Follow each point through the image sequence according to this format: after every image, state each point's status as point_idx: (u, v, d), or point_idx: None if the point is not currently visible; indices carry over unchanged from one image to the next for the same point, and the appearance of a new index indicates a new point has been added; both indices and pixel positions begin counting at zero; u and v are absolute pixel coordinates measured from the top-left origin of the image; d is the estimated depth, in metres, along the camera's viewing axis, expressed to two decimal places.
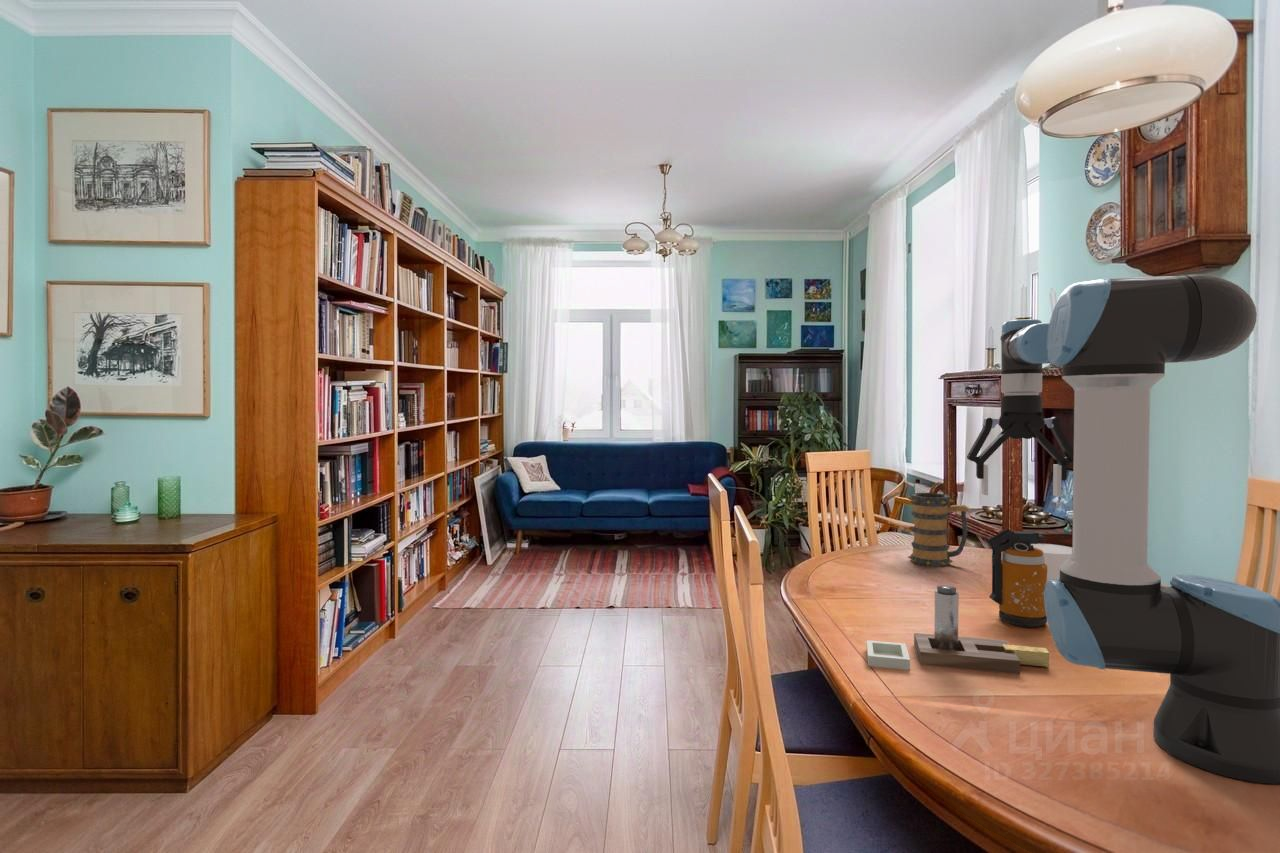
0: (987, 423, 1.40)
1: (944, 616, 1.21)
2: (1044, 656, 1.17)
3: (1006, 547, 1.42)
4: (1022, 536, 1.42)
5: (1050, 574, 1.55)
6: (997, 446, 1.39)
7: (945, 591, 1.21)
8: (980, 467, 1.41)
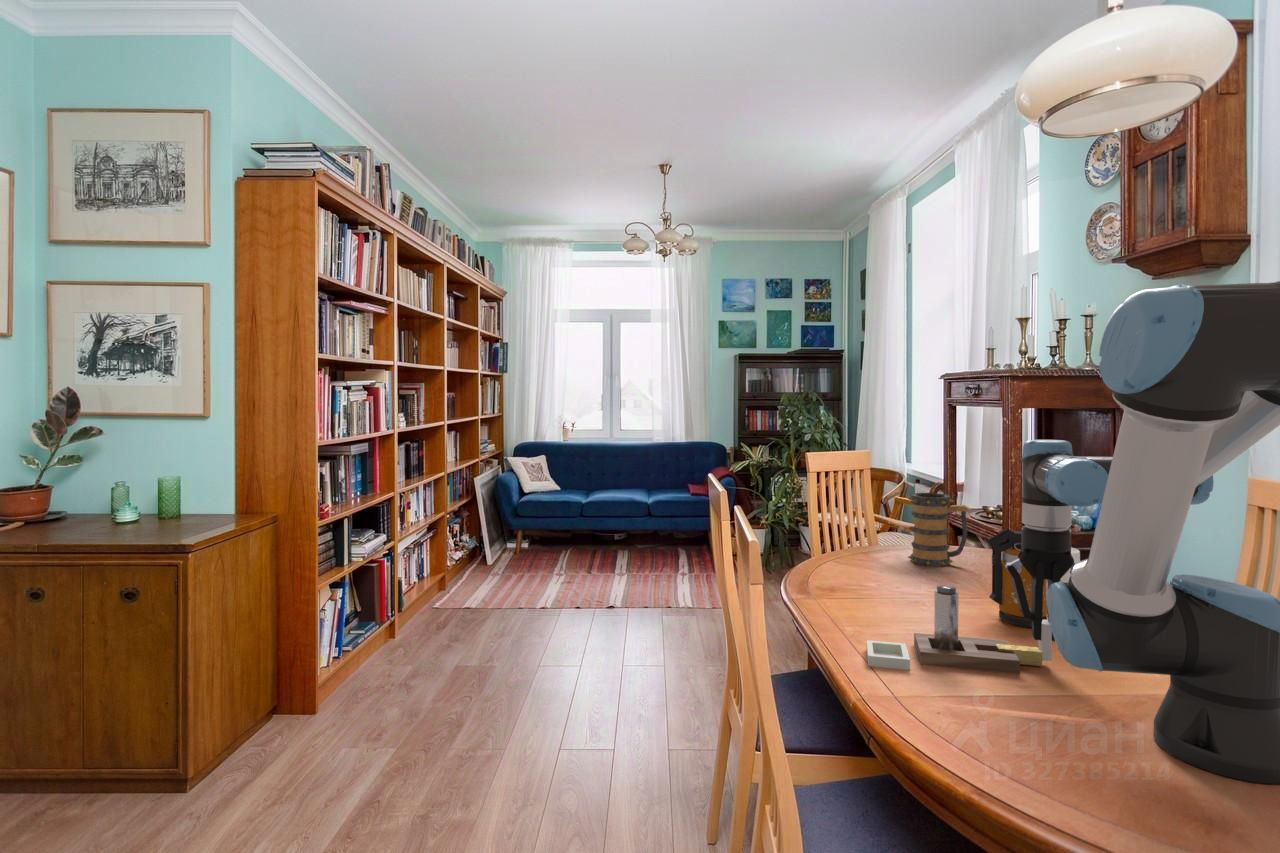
0: (1011, 572, 1.18)
1: (944, 616, 1.21)
2: (1037, 656, 1.17)
3: (1006, 547, 1.42)
4: None
5: None
6: (1040, 595, 1.17)
7: (945, 591, 1.21)
8: (1037, 626, 1.18)
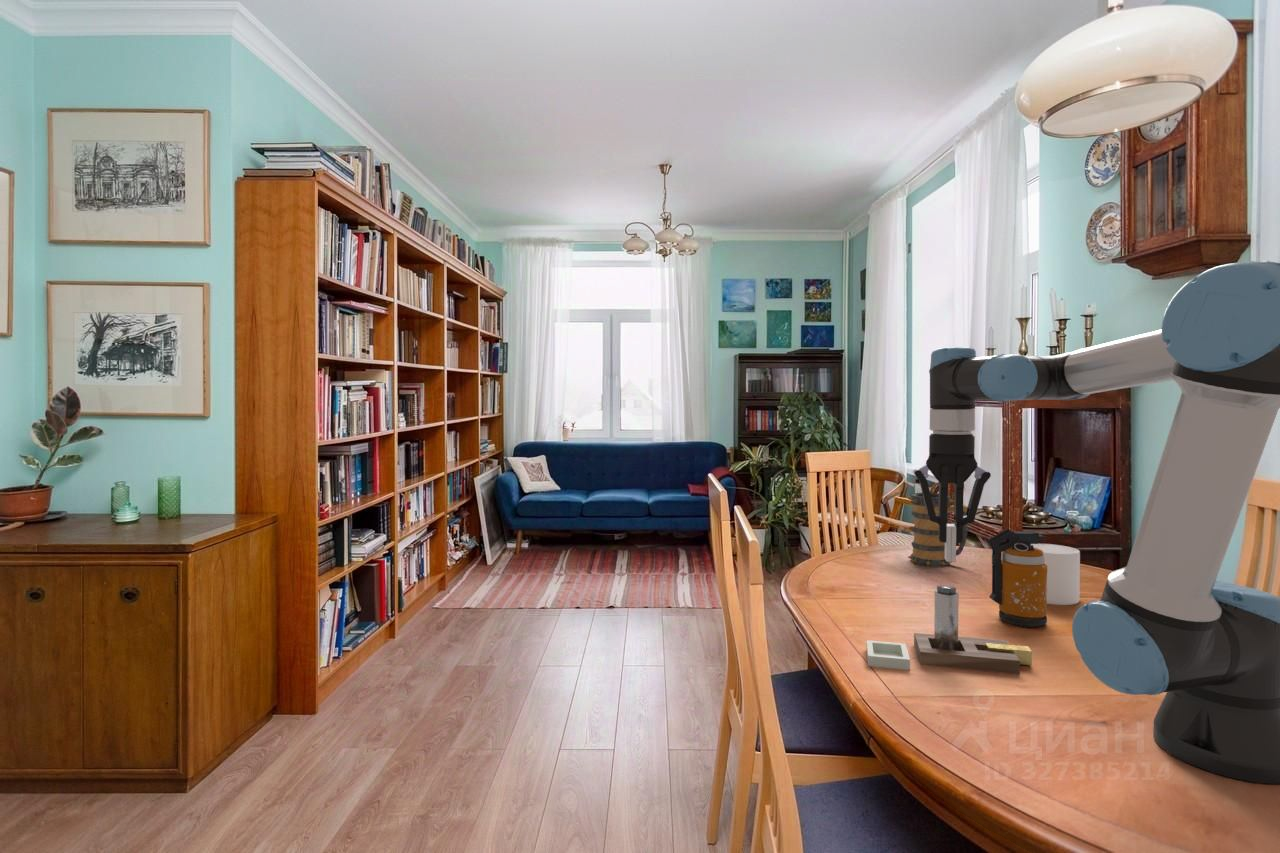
0: (918, 477, 1.22)
1: (944, 616, 1.21)
2: (1027, 655, 1.18)
3: (1006, 547, 1.42)
4: (1022, 536, 1.42)
5: (1050, 574, 1.55)
6: (945, 498, 1.21)
7: (945, 591, 1.21)
8: (942, 529, 1.22)
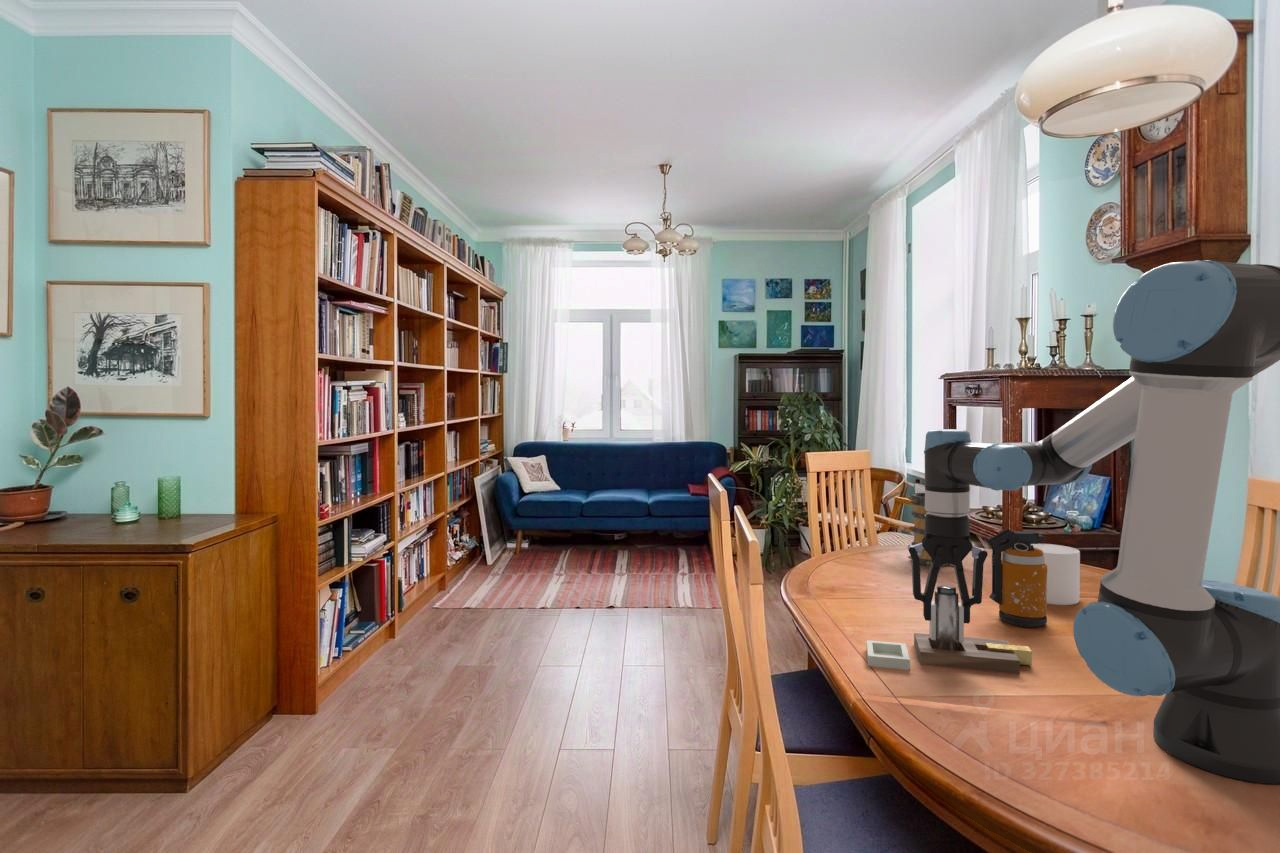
0: (912, 554, 1.23)
1: (944, 616, 1.21)
2: (1027, 655, 1.18)
3: (1006, 547, 1.42)
4: (1022, 536, 1.42)
5: (1050, 574, 1.55)
6: (935, 578, 1.22)
7: (945, 591, 1.21)
8: (927, 607, 1.23)
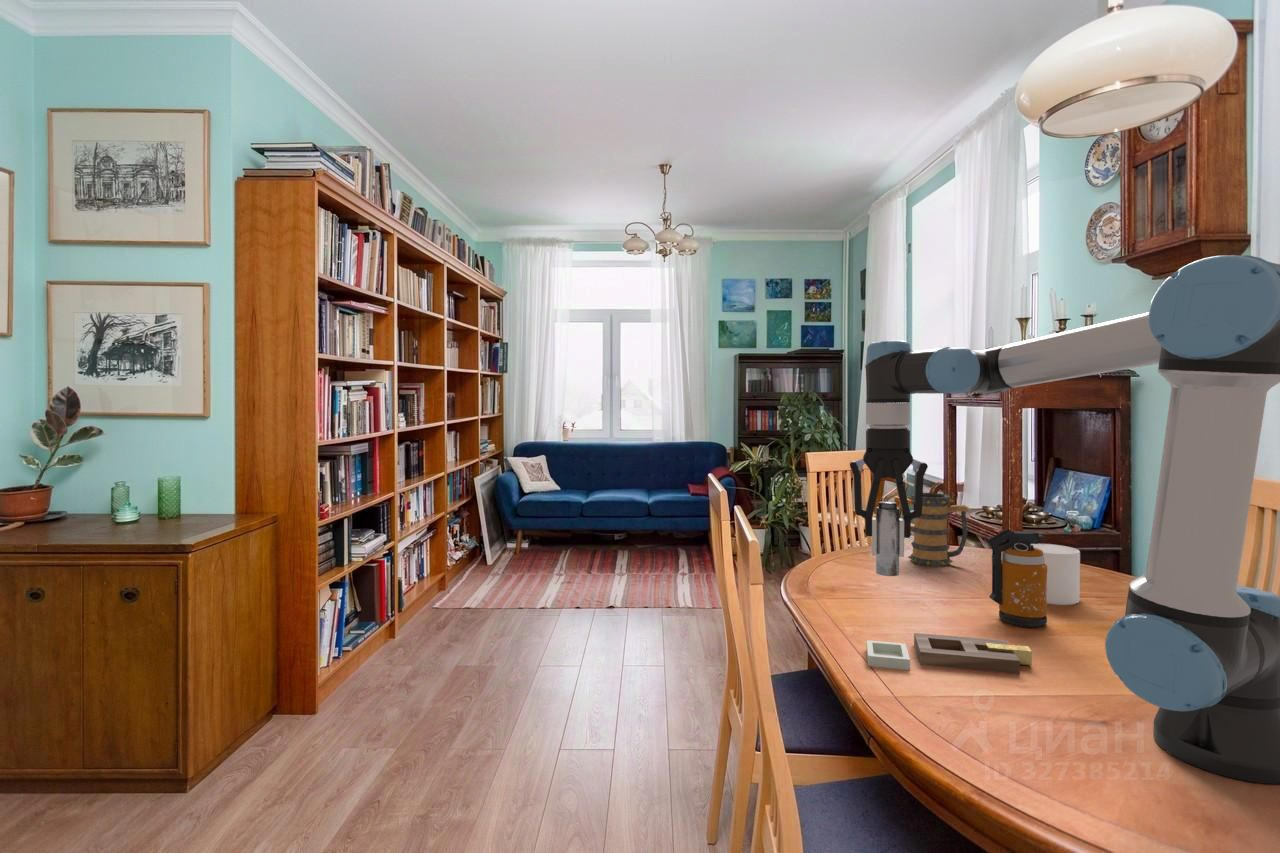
0: (853, 469, 1.21)
1: (884, 531, 1.19)
2: (1027, 655, 1.18)
3: (1006, 547, 1.42)
4: (1022, 536, 1.42)
5: (1050, 574, 1.55)
6: (875, 493, 1.20)
7: (885, 506, 1.20)
8: (868, 522, 1.21)
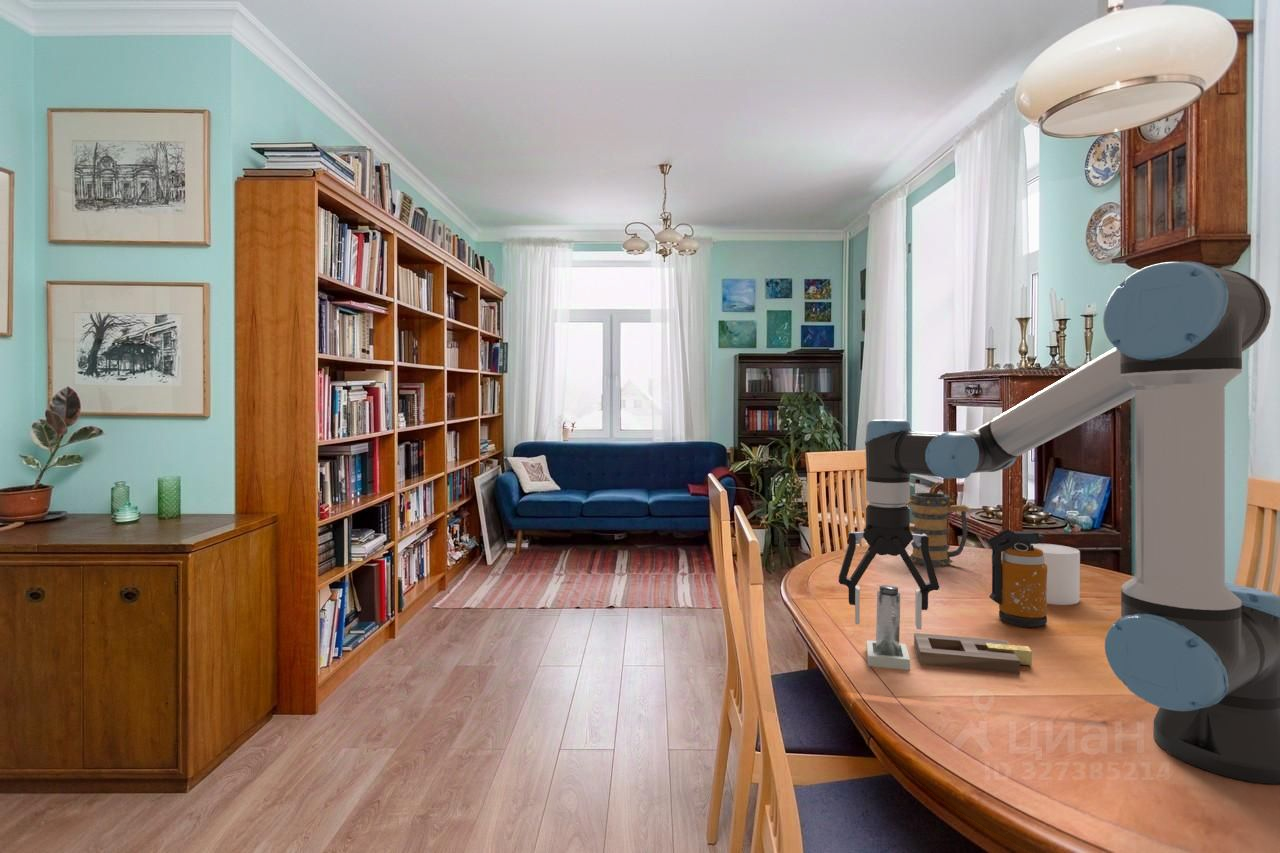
0: (850, 539, 1.22)
1: (885, 617, 1.20)
2: (1027, 655, 1.18)
3: (1006, 547, 1.42)
4: (1022, 536, 1.42)
5: (1050, 574, 1.55)
6: (866, 566, 1.21)
7: (887, 591, 1.20)
8: (851, 591, 1.23)
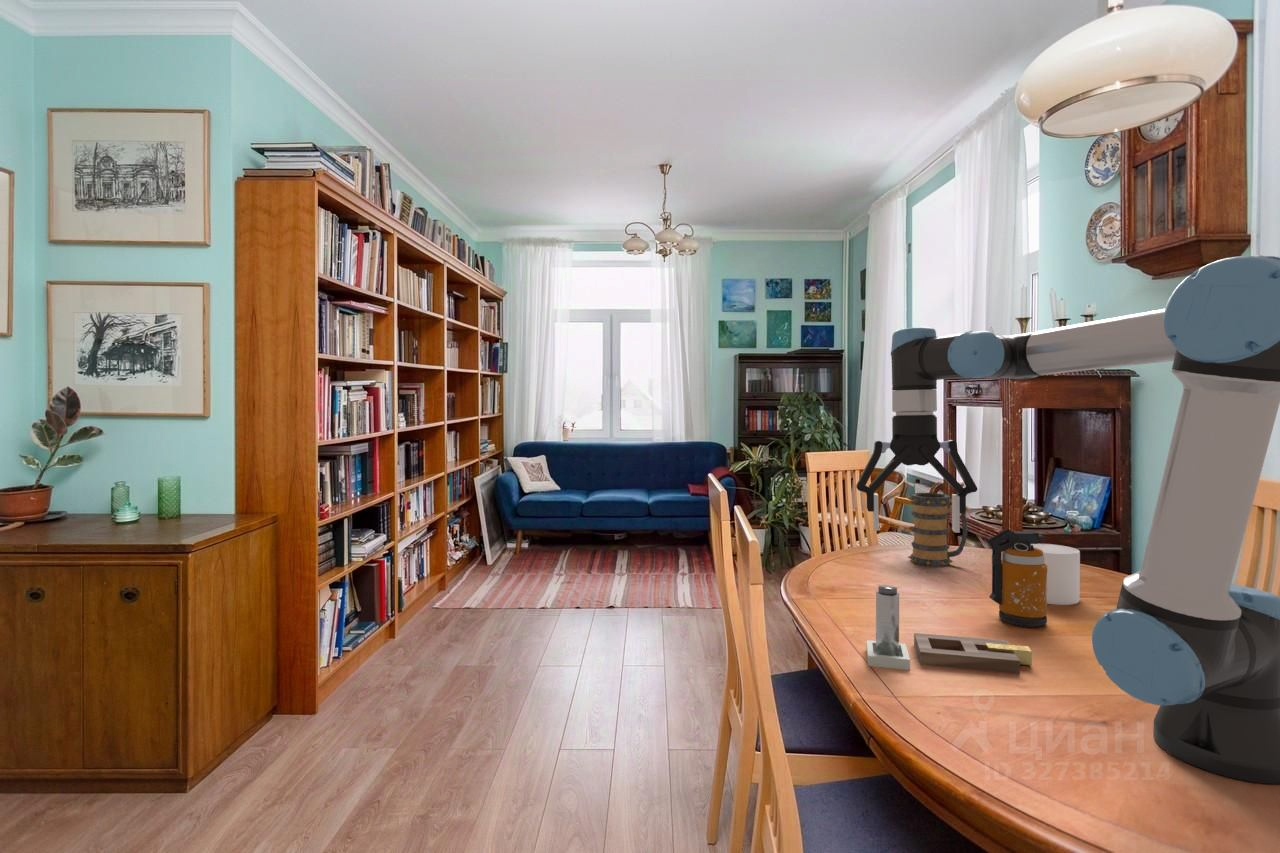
0: (876, 447, 1.21)
1: (884, 617, 1.20)
2: (1027, 655, 1.18)
3: (1006, 547, 1.42)
4: (1022, 536, 1.42)
5: (1050, 574, 1.55)
6: (888, 474, 1.21)
7: (885, 591, 1.20)
8: (870, 498, 1.22)
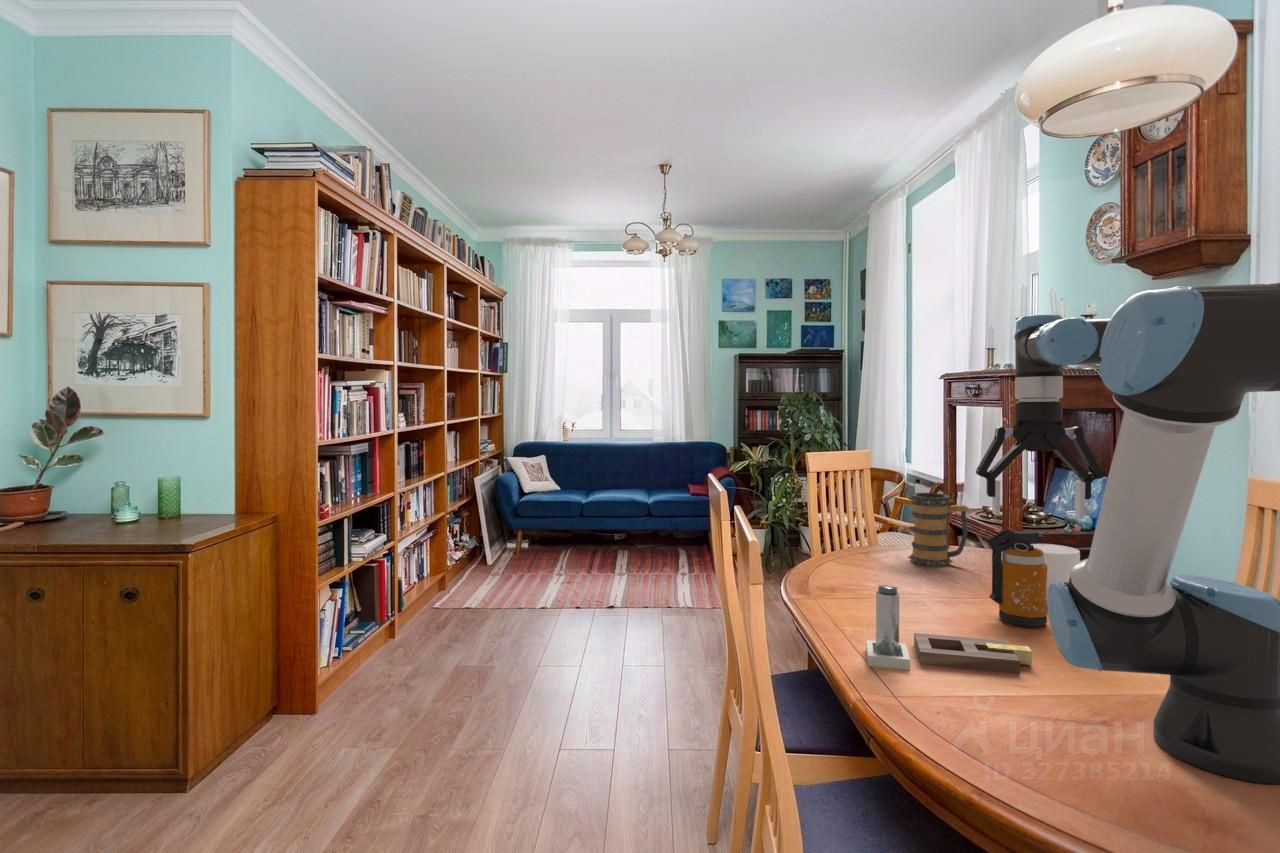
0: (999, 433, 1.22)
1: (884, 616, 1.20)
2: (1027, 655, 1.18)
3: (1006, 547, 1.42)
4: (1022, 536, 1.42)
5: (1050, 574, 1.55)
6: (1011, 460, 1.22)
7: (885, 591, 1.20)
8: (991, 483, 1.23)
